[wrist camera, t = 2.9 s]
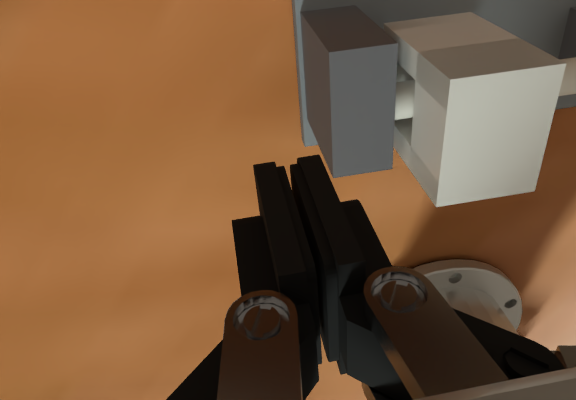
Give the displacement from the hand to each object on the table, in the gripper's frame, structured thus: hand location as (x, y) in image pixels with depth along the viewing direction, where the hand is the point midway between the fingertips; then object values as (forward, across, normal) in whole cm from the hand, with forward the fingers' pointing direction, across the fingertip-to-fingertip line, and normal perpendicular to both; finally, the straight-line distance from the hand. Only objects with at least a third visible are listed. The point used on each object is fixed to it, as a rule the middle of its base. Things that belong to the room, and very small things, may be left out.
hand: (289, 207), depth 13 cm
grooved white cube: (+9, -7, +1) cm, 11 cm away
